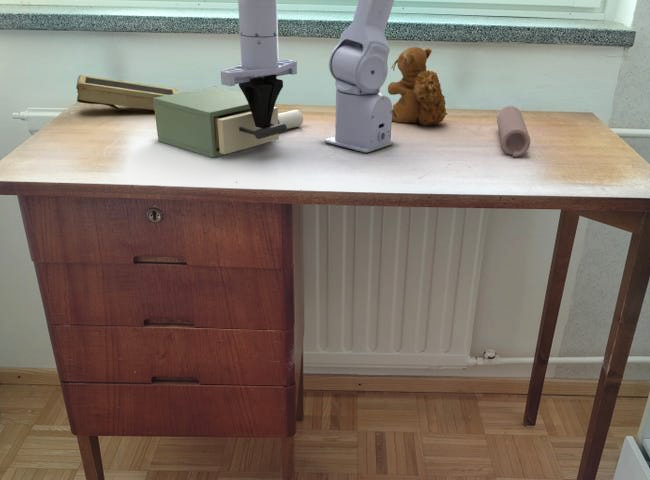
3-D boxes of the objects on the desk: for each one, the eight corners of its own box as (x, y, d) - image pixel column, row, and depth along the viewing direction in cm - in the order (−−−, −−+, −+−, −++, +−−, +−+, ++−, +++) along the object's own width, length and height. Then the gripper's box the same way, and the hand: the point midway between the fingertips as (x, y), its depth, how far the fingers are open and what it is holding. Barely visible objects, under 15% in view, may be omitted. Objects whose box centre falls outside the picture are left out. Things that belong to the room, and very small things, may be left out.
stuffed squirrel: (416, 110, 143) (421, 41, 136) (460, 126, 133) (468, 53, 126) (376, 116, 138) (380, 44, 131) (419, 132, 128) (426, 56, 121)
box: (77, 100, 135) (77, 73, 133) (193, 115, 143) (195, 90, 141) (76, 110, 129) (76, 83, 126) (197, 126, 137) (199, 100, 134)
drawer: (300, 145, 116) (300, 112, 113) (246, 161, 107) (245, 126, 104) (227, 125, 125) (225, 95, 122) (172, 138, 117) (169, 106, 114)
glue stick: (291, 124, 130) (291, 108, 129) (303, 127, 129) (303, 110, 127) (263, 132, 125) (262, 115, 124) (274, 135, 124) (274, 117, 122)
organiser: (272, 141, 120) (270, 99, 116) (213, 157, 111) (209, 112, 107) (217, 126, 127) (214, 86, 124) (158, 140, 118) (152, 97, 115)
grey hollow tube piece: (534, 132, 114) (524, 107, 129) (506, 127, 114) (500, 103, 129) (526, 159, 116) (518, 132, 131) (499, 155, 117) (494, 128, 132)
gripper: (273, 27, 110) (276, 114, 118) (204, 35, 101) (211, 130, 108) (306, 32, 107) (306, 122, 114) (237, 41, 97) (242, 139, 104)
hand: (262, 126), depth 111 cm, fingers closed
